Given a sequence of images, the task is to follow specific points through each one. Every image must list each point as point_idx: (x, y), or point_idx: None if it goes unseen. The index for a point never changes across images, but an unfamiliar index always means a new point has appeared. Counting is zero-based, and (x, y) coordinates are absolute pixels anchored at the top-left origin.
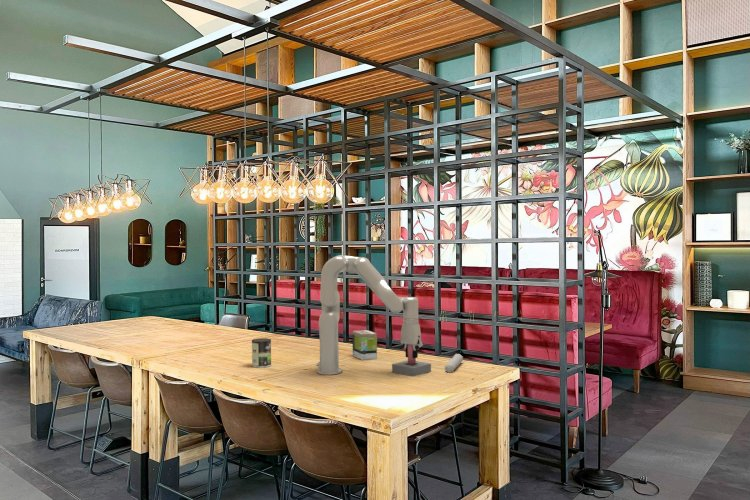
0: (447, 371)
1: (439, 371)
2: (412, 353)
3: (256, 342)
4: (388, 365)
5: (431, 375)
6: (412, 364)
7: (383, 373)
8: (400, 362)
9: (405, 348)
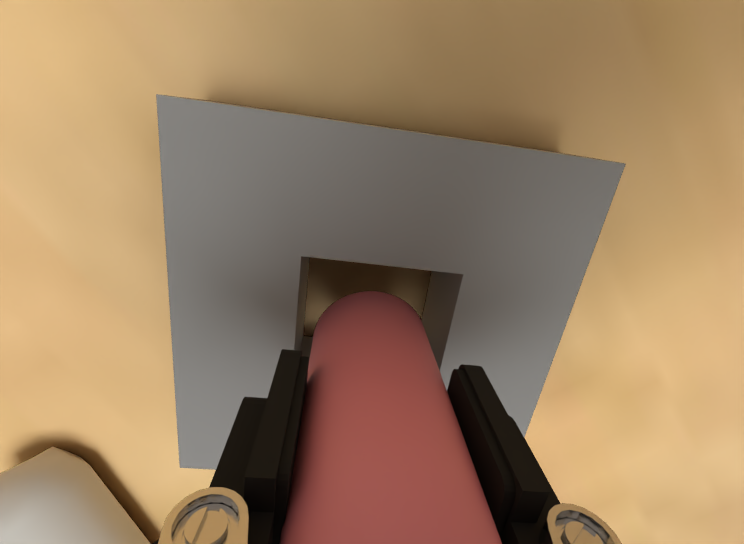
0: (50, 449)
1: (148, 437)
2: (315, 428)
3: None
4: (705, 386)
5: (77, 264)
6: None
7: (639, 20)
8: (551, 330)
9: (570, 529)
